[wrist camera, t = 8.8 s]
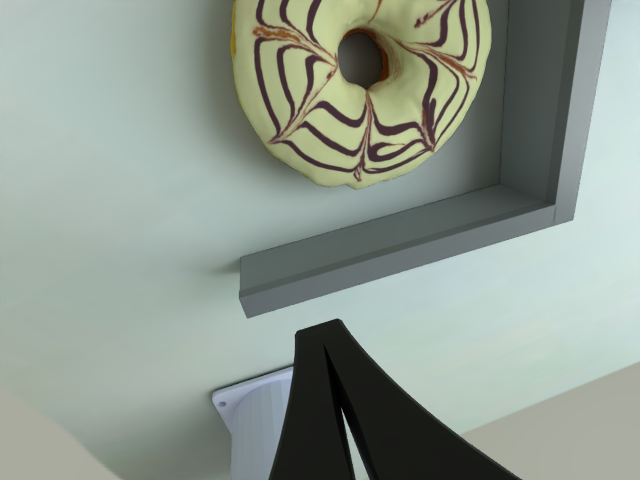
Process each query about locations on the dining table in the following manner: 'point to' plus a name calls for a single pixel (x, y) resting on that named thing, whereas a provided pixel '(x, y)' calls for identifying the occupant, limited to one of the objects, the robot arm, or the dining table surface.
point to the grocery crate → (481, 205)
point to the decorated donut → (350, 99)
